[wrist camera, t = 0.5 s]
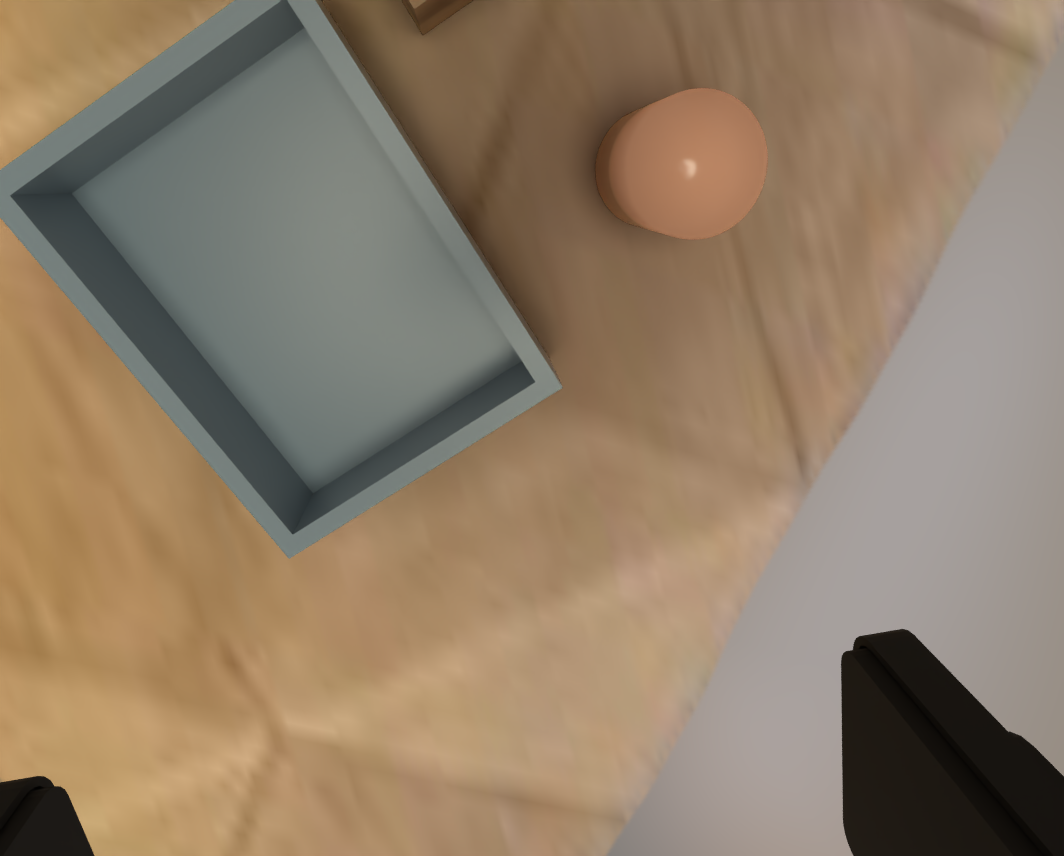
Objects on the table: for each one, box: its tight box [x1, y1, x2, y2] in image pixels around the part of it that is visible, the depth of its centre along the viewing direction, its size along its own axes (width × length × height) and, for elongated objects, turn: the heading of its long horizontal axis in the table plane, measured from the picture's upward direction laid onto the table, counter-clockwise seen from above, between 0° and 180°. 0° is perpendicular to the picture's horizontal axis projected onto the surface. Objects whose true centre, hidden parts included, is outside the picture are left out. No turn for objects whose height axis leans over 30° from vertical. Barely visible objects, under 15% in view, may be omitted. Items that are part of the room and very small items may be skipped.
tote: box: [0, 0, 563, 558], centre depth 31 cm, size 14×18×5 cm
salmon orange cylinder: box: [595, 88, 768, 240], centre depth 30 cm, size 5×5×7 cm
